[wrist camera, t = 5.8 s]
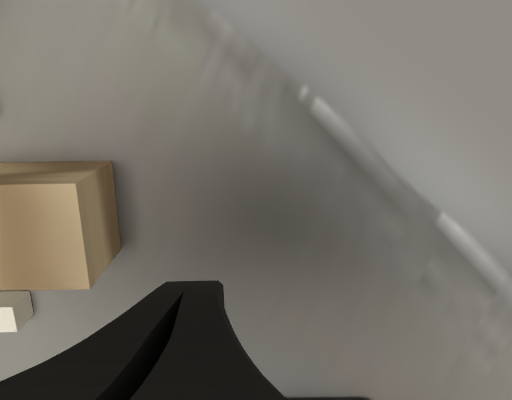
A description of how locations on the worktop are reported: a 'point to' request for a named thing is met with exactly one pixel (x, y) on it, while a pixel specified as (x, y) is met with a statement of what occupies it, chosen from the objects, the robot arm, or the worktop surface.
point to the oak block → (56, 224)
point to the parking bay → (14, 310)
